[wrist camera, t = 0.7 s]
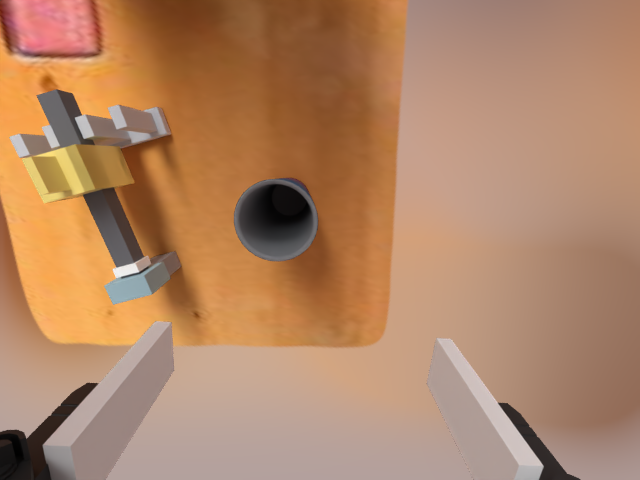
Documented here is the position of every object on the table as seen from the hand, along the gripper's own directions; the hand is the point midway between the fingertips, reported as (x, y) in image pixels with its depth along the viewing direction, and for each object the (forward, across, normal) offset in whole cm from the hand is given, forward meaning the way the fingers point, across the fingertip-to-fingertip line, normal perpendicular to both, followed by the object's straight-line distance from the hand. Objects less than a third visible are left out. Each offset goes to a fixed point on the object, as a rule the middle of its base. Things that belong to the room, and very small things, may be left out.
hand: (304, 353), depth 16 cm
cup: (+27, -3, +4) cm, 27 cm away
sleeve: (+22, -23, +6) cm, 32 cm away
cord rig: (+26, -21, +2) cm, 34 cm away
